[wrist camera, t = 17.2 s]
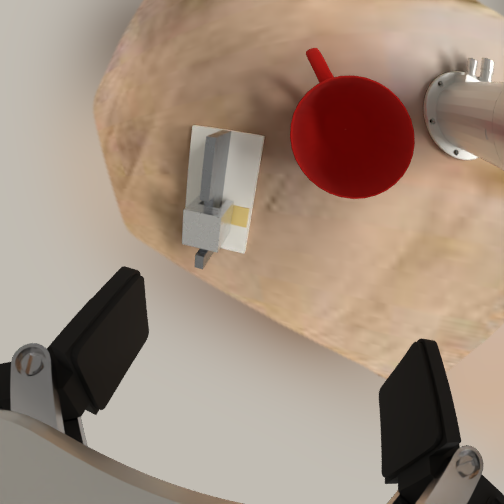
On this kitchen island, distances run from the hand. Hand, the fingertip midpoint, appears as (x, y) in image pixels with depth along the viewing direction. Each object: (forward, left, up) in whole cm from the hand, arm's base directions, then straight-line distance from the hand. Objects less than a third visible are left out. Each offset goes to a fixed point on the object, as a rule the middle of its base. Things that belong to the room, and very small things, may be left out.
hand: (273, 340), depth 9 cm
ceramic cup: (-6, +3, -34) cm, 34 cm away
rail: (+8, -11, -33) cm, 36 cm away
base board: (+8, -11, -33) cm, 36 cm away
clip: (+11, -11, -31) cm, 35 cm away
